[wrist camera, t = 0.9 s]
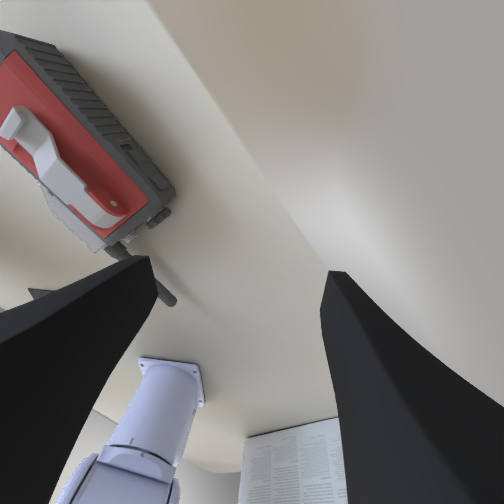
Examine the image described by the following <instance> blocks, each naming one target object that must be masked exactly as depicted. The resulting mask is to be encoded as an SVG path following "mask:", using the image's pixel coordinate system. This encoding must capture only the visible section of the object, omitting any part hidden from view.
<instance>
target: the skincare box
mask: <svg viewBox="0 0 504 504" xmlns="http://www.w3.org/2000/svg"><path fill="white" fill-rule="evenodd" d="M238 504H348V499H347V488H346V478H345V469H344V460H343V451H342V441H341V433H340V425H339V417H338V418H333V419H329V420H324V421H320V422H315V423H311V424H307V425H303V426H298V427H294V428H290V429H286V430H282V431H277V432H273V433H269V434H264V435H260V436H256V437H251V438H247V439H244V446H243V459H242V470H241V480H240V490H239V497H238Z"/></svg>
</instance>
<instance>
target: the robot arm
mask: <svg viewBox="0 0 504 504" xmlns="http://www.w3.org/2000/svg"><path fill="white" fill-rule="evenodd" d="M158 295H159V293H158V289H157V286H156V282H155V278H154V274H153V270H152V266H151V262H150V258H149V256H142V255H134V256H131V257H128V258H126V259H123V260H121V261H119V262H117V263H115V264H112V265H110V266H108V267H106V268H104V269H102V270H100V271H98V272H96V273H93V274H91V275H89V276H87V277H85V278H83V279H81V280H79V281H77V282H74V283H72V284H70V285H68V286H65V287H63V288H61V289H59V290H56V291H54V292H52V293H50V294H47V295H45V296H43V297H40V298H38V299H36V300H33V301H31V302H28V303H26V304H23V305H20V306H18V307H15V308H12V309H10V310H7V311H4V312H2V313H0V504H49V501H50V499H51V496H52V494H53V491H54V489H55V487H56V485H57V482H58V480H59V477H60V475H61V473H62V470H63V468H64V466H65V464H66V462H67V460H68V458H69V455H70V453H71V451H72V449H73V447H74V445H75V442H76V440H77V438H78V436H79V434H80V432H81V430H82V427H83V426H84V424H85V422H86V420H87V418H88V416H89V414H90V412H91V410H92V408H93V406H94V404H95V402H96V400H97V398H98V396H99V395H100V393H101V391H102V389H103V387H104V385H105V383H106V381H107V380H108V378H109V376H110V374H111V373H112V371H113V369H114V368H115V366H116V365H117V363H118V362H119V360H120V359H121V357H122V356H123V354H124V352H125V351H126V349H127V348H128V346H129V345H130V343H131V342H132V340H133V339H134V337H135V336H136V334H137V333H138V331H139V330H140V328H141V327H142V325H143V324H144V322H145V321H146V319H147V317H148V316H149V314H150V312H151V310H152V308H153V306H154V304H155V301H156V299H157V297H158ZM320 318H321V329H322V336H323V341H324V346H325V351H326V356H327V360H328V365H329V369H330V374H331V379H332V383H333V388H334V392H335V398H336V403H337V409H338V417H339V425H340V433H341V441H342V451H343V460H344V469H345V478H346V488H347V499H348V504H504V407H503V406H501V405H500V404H498V403H497V402H495V401H494V400H493V399H491V398H490V397H488V396H487V395H485V394H484V393H483V392H481V391H480V390H478V389H477V388H476V387H474V386H473V385H472V384H470V383H469V382H467V381H466V380H464V379H463V378H462V377H461V376H459V375H458V374H457V373H455V372H454V371H453V370H451V369H450V368H449V367H447V366H446V365H445V364H444V363H442V362H441V361H440V360H439V359H437V358H436V357H435V356H433V355H432V354H431V353H430V352H429V351H427V350H426V349H425V348H424V347H422V346H421V345H420V344H419V343H418V342H417V341H415V340H414V339H413V338H412V337H411V336H410V335H409V334H407V333H406V332H405V331H404V330H403V329H402V328H401V327H400V326H399V325H397V324H396V323H395V322H394V321H393V320H392V319H391V318H390V317H389V316H388V315H387V314H386V313H385V312H384V311H383V310H381V308H380V307H379V306H378V305H377V304H376V303H375V302H374V301H373V300H372V299H371V298H370V297H369V296H368V295H367V294H366V293H365V292H364V291H363V290H362V289H361V288H360V287H359V286H358V284H357V283H355V281H354V280H353V279H352V278H351V277H350V276H349V275H348V274H347V273H346V272H340V271H329V272H328V276H327V281H326V285H325V290H324V294H323V298H322V303H321V307H320ZM138 364H139V367H140V369H141V372H142V374H143V379H142V381H141V383H140V385H139V387H138V389H137V390H136V392H135V394H134V396H133V398H132V400H131V402H130V404H129V405H128V407H127V409H126V411H125V413H124V415H123V417H122V418H121V420H120V422H119V424H118V426H117V428H116V430H115V432H114V433H113V435H112V437H111V439H110V441H109V443H108V444H107V445H104V447H103V449H102V450H101V452H100V454H96V453H93V454H91V455H90V456H88V457H87V458H85V459H84V460H83V461H82V462H81V463H80V464H79V466H78V467H77V468H76V470H75V471H74V473H73V474H72V476H71V478H70V479H69V481H68V482H67V484H66V486H65V487H64V489H63V491H62V492H61V494H60V496H59V498H58V500H57V501H56V503H55V504H179V500H180V487H179V482H178V479H176V478H173V477H174V474H175V470H176V467H175V466H176V465H177V464H178V462H179V460H180V459H181V457H182V455H183V452H184V449H185V446H186V443H187V439H188V436H189V433H190V429H191V426H192V423H193V419H194V416H195V413H196V409H197V406H204V405H205V399H204V393H203V387H202V381H201V376H200V370H199V366H198V365H195V364H187V363H179V362H172V361H164V360H156V359H148V358H139V359H138Z"/></svg>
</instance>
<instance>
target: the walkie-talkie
mask: <svg viewBox="0 0 504 504" xmlns="http://www.w3.org/2000/svg"><path fill="white" fill-rule="evenodd" d="M0 145H1V146H2V147H3V149H4V150H5V151H7V152H8V153H9V154H10V155H11V156H12V157H13V158H14V159H16V160H17V161H18V162H19V164H20V165H21V166H23V167H24V168H25V169H26V170H27V171H28V172H29V173H31V174H32V175H33V176H34V178H35V179H36V180H38V183H39V184H40V188H41V190H42V192H43V194H44V197H45V199H46V201H47V203H48V206H49V208H50V210H51V212H52V214H53V215H54V216H55V217H57V218H58V219H59V220H60V221H61V222H62V223H63V224H64V225H65V226H66V227H68V228H69V229H70V230H71V231H72V232H73V233H74V234H75V235H76V236H78V237H79V238H80V239H81V240H82V241H83V242H84V243H85V244H86V245H87V247H88V248H89V249H90V250H91V251H92V252H93V253H96V252H97V251H99V250H100V249H101V248H103V249H104V250H105V251H106V252H107V253H108V254H109V255H110V256H112V257H113V258H116V259H117V260H118V261H121V260H123V259H126V258H128V257H131V256H132V255H131V254H130V253H129V252H128V251H127V250H126V247H125V246H124V245H123V244H122V243H121V242H120V241H119V240H120V239H121V240H122V241H123V240H125V241H126V242H127V243H129V242H131V241H132V240H133V239H134V238H135V237H136V236H137V235H138V234H137V233H136V232H135V230H136V229H134V228H136V227H137V226H139V225H140V224H142V223H143V222H144V221H145V220H146V221H147V223H146V226H147V227H148V228H149V229H152V228H154V227H155V226H157V225H158V224H159V223H160V222H162V221H163V220H164V219H165V218H167V217H168V216H169V215H170V214H171V210H170V209H169V208H165V209H164V208H163V206H164V205H165V204H166V203H168V202H169V201H170V200H171V199H173V198H174V197H175V196H176V194H175V189H174V188H173V186H172V185H171V184H170V183H169V182H168V180H167V179H166V178H165V177H164V176H163V174H162V173H161V172H160V171H159V170H158V168H157V167H156V166H155V165H154V164H153V162H152V161H151V160H150V159H149V158H148V156H147V155H146V154H145V153H144V152H143V151H142V149H141V148H140V147H139V146H138V145H137V143H136V142H135V141H134V140H133V139H132V137H131V136H129V135H128V134H127V133H126V130H125V129H123V128H122V127H121V125H120V123H119V122H118V121H116V119H115V118H114V116H113V115H112V114H111V113H110V112H109V111H108V110H107V107H106V106H104V105H103V104H102V103H101V101H100V99H99V98H98V97H96V95H95V94H94V92H93V91H92V89H90V88H89V87H88V86H87V84H86V82H85V81H84V80H82V79H81V78H80V76H79V74H78V73H77V72H76V71H75V70H74V69H73V68H72V66H71V64H70V63H69V62H67V61H66V60H65V58H64V56H63V55H62V53H60V52H59V51H58V50H57V49H56V46H55V45H52V44H48V43H45V42H41V41H38V40H34V39H31V38H27V37H24V36H21V35H17V34H13V33H9V32H5V31H1V30H0ZM154 278H155V277H154ZM155 282H156V286H157V289H158V293H159V295H158V297H159V298H160V299H161V300H162V301H163V302H164V303H165V304H166V305H167V306H169V307H173V306H175V305H176V303H177V299H176V297H175V296H174V295H172V294H171V293H170V292H169V291H168V290H167V289H166V288H165V287H164V286H163V285H162V284H161V283H160V282H159V281H158V280H157V279H156V278H155Z"/></svg>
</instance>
